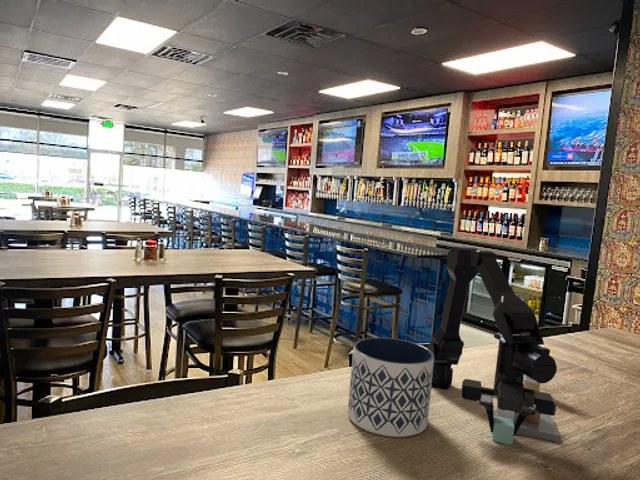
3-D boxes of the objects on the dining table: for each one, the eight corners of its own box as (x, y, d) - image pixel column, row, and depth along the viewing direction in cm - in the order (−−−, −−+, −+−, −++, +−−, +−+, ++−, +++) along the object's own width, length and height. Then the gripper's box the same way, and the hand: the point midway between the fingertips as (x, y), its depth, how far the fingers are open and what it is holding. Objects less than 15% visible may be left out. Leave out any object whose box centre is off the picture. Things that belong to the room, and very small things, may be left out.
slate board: (500, 430, 109) (501, 423, 109) (496, 409, 121) (497, 403, 121) (557, 441, 106) (558, 435, 106) (548, 418, 118) (549, 412, 117)
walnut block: (515, 420, 112) (518, 399, 111) (513, 411, 117) (515, 391, 116) (539, 424, 110) (541, 404, 110) (535, 415, 115) (538, 395, 115)
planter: (376, 445, 98) (383, 367, 97) (333, 407, 114) (338, 340, 113) (444, 431, 107) (452, 359, 105) (395, 397, 123) (401, 335, 121)
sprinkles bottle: (542, 393, 134) (548, 346, 133) (533, 396, 131) (539, 348, 130) (527, 387, 138) (533, 341, 136) (518, 389, 135) (523, 343, 134)
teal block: (492, 440, 104) (494, 423, 104) (491, 432, 108) (493, 415, 108) (512, 444, 103) (514, 427, 103) (510, 436, 107) (512, 419, 107)
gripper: (465, 369, 99) (457, 441, 100) (565, 386, 94) (555, 462, 95) (465, 353, 110) (458, 419, 111) (555, 367, 104) (546, 436, 106)
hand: (502, 433), depth 106 cm, fingers closed on teal block, 4 cm apart
